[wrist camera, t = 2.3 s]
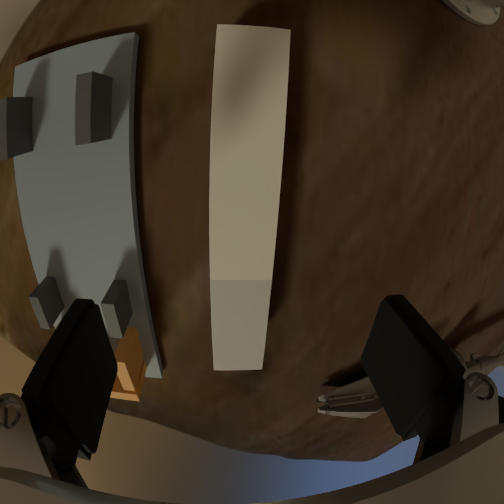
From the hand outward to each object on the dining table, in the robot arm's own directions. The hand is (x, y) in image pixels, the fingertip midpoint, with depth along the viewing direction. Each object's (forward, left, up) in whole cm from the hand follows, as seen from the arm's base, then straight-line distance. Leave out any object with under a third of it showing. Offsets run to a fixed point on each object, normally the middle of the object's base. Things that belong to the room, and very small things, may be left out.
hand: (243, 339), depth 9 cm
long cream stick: (-1, 0, -12) cm, 12 cm away
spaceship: (+18, +26, -12) cm, 34 cm away
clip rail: (+1, -12, -12) cm, 16 cm away
